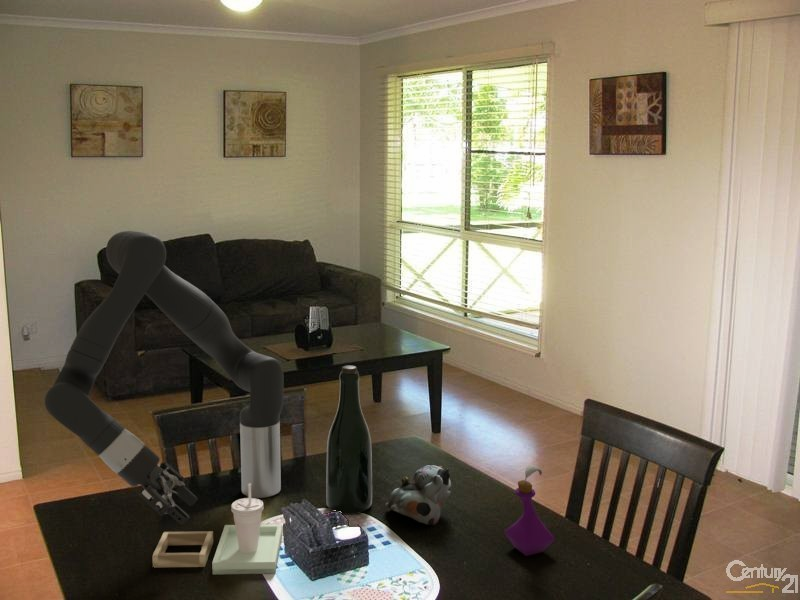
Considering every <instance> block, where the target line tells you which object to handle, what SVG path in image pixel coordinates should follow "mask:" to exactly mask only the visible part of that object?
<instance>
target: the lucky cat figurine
mask: <svg viewBox="0 0 800 600" xmlns="http://www.w3.org/2000/svg"><path fill="white" fill-rule="evenodd" d="M449 472H450V468H444V467H443V465H439V466H437V465H434V464H433V465H431V464H430V465H429V464H427V465H425V466H422V467H421V468H419V469H417V470H416V471H415V472H414V474H413V476H412V477H413V478H412V482H410V479H409V478H408V477H407V476H403V477H402V479H401V485H400V486H399V487H398V488H395V489H393V491H391V493H390V495H389V498H388V502H386V503H385V504H384V505H385V507H387V508H388V509H390V510H391V511H394V512H396V513H398V514H399V515H403V516H406V517H409V518H411V519H413V520H414V521H416V522H418V523H421V524H424V525H430V526H431V527H432V526H433V527H434V526H435V525H437V524H438V523H439V521H440V518H441V512H442V506H443V504H444V502H445V501H446V500H447V498H448V497H449V496H450V494H451V490H450V489H451V487H452V482H451V479H450V475H451V474H450V473H449Z"/></svg>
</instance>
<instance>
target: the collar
mask: <svg viewBox="0 0 800 600" xmlns="http://www.w3.org/2000/svg"><path fill="white" fill-rule="evenodd" d="M213 545H214V531H213V530H212V531H209V530H208V531H207V530H206V531H199V530H198V531H164V532H163V533H162V535H161V537H160V539H159V541H158V544H157V546H156V548H155V550H154V551H153V554H152V568H153V567H154V568H199V567H200V568H205V567H206V564H207V562H208V560H209V559H208V558H209V556H210V553H211V549H212V548H213ZM169 546H201V550H200V552H166V551H167V549H168V547H169Z"/></svg>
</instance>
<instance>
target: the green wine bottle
mask: <svg viewBox="0 0 800 600" xmlns="http://www.w3.org/2000/svg"><path fill="white" fill-rule="evenodd" d="M338 377H339V399H338V406H337V410H336V413H335V416H334V419H333V422H332V423H331V426H330V429H329V432H328V436H327V443H326V446H327V447H326V482H325V483H326V485H325V486H326V490H325V491H326V492H325V493H326V494H325V495H326V499H325V500H326V506H327V508H328V509H330V510H331V511H332V510H336V511H341V512H342V513H343V514H344V515H354V514H359V513H360V514H361V513H363V512H365V511H367V510H368V509H370V507H371V506H372V503H373V469H372V468H373V465H372V464H373V462H372V461H373V459H372V457H373V455H372V439H371V434H370V429H369V427H368V424H367V422H366V419H365V417H364V414H363V412H362V407H361V401H360V374H359V371H358V367H357V366H355V365H350V364H348V365H344V366H342V367H341V371H340V373H339V376H338ZM342 513H341V514H342Z"/></svg>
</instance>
